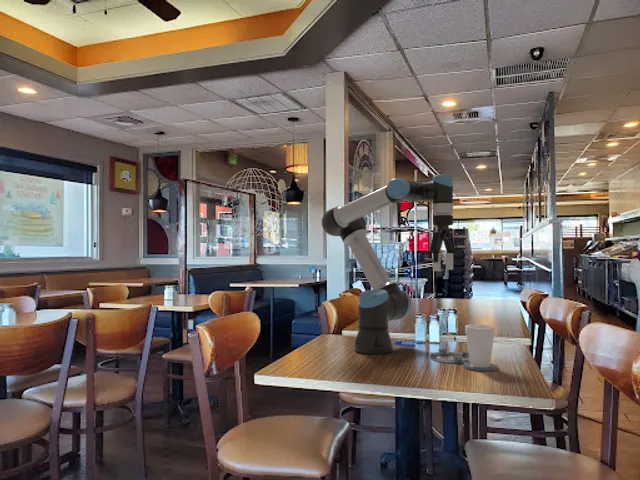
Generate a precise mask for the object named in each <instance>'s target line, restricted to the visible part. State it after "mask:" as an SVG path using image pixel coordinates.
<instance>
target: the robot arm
mask: <svg viewBox="0 0 640 480" xmlns="http://www.w3.org/2000/svg"><path fill="white" fill-rule="evenodd" d="M453 180H454V179H453V176H452V175H451V174H448V173H445V174H444V173H443V174H442V173H440V174H435V175H433V176H432V180H430V181H415V180H410V179H405V178H399V177H398V178H392V179H390V180H389V182H388V183H387V185H386V186H383V187H381V188H379V189H376V190H375V191H373V192H370V193H368V194H366V195H364V196H361V197H359V198H358V199H355V200H353V201H351V202H348V203H346V204H345V205H337V206H334V207H332V208H330V209H328V210H327V211H326V212H325V213H324V214H323V215H322V217H321V226H322V229H323V231H324V232H325V233H327V234H328V235H329V236H333V237H340V238H341V240H342V242H343V244H344V245H347V246H348V247H349V248H350V250H351V252H352V253H353V256H354V257H355V259H356V261H357V263H358V265H359V267H360V268H361V271H362V272H363V274H364V276H365V278H366V280H367V282H368V283H369V285H370V287H371V289H369V290H364V291H362V292H361V293H359V295H358V303H357V304H358V307H357V308H358V332H357V335H356V339H355V341H354V343H353V344H354V345H353V346H354V352H357V353H360V354H367V355H385V354H390V353H392V352H394V345H393V342H392V339H391V336H390V333H389V321H390V322H391V321H398V320H401V319H403V318H405V317H407V316H408V315H409V313H411V309H412V305H413V304H412V303H413V302H412V297H411V296H410V294H409V293H407V292H406V291H404V290H402V289H400V287H399V285H398V284H397V282H395V281H392V280H391V277H389V274H388V273H387V271H386V270H385V268H384V265H383V264H382V262H381V260H380V259H379V256H378V255H377V254H376V251H375V249H374V248H373V246H372V244H371V242H370V240H369V239H368V237H367V234H368V230H367V224H368V222H367V220H366V217H367V216H368V215H371V214H374V213H375V212H378V211H380V210H383V209H385V208H387V207H389V206H393V205H394V204H397V203H399V202H401V201H403V200H406V201H407V202H408V203H417V202H426V201H432V207H431V209H432V214H433V215H434V216H432V225H433V228H432V229H433V230H432V238H431V243H430V249H429V254H432V272H441V253H440V252H441V249H442V245H443V243H444V247H445V250H446V252H445V270H447V271H452V270H454V254H456V253H457V251H456V245H455V239H454V235H453V234H454V233H453V228H452V227H450V226H453V225H454V216H453V214H454V200H453V199H454V182H453Z"/></svg>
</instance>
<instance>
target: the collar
mask: <svg viewBox="0 0 640 480" xmlns="http://www.w3.org/2000/svg"><path fill="white" fill-rule="evenodd" d="M439 356H453V359H447V358H440V357H439ZM428 358H429V359H430V360H432V361H434V362H438V363H445V364H464V363H465V362H470V358H469V351H466V350H463V351H462V352H455V351H447V349H446V348H439V349H438V351H434V352H430V354H429V356H428Z"/></svg>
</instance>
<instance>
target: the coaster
mask: <svg viewBox="0 0 640 480" xmlns="http://www.w3.org/2000/svg"><path fill="white" fill-rule="evenodd" d="M462 366H463V367H462V368H464V369H466V370H468V371H474V372H479V373H481V372H482V373H483V372H485V373H487V372H488V373H489V372H490V373H491V372H495V371H498V369H499V368H498V367H499V366H498V364H495V363H492V362H491V363H490V367H484V368H483V367H474V366H471V365H470V361H468V362H465V363H462Z"/></svg>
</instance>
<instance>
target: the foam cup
mask: <svg viewBox="0 0 640 480" xmlns="http://www.w3.org/2000/svg"><path fill="white" fill-rule="evenodd" d="M495 328H496V327H495V326H493V325H489V324H481V323H479V324H466V325H465V329H464V331H465V335H466V342H467V350H468V351H467V352H469V358H470V361H469V362H470V365H471V366H474V367H483V368H484V367H490V363H492V362H491V360H492V353H493V346H494V337H495V334H496V333H495V332H496V329H495Z"/></svg>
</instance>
